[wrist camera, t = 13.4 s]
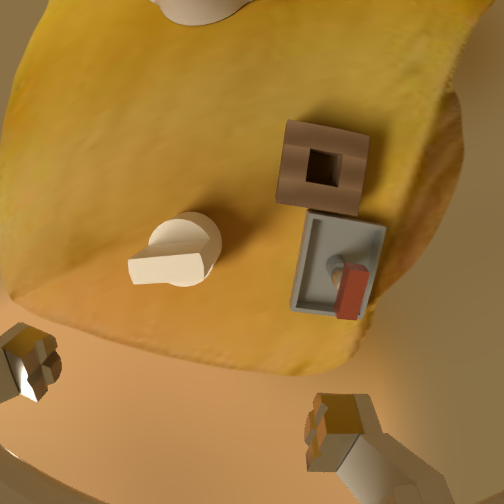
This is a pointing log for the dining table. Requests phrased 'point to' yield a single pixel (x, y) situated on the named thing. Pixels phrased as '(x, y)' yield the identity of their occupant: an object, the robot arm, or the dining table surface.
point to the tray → (326, 245)
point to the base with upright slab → (178, 252)
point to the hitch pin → (347, 286)
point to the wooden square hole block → (342, 172)
